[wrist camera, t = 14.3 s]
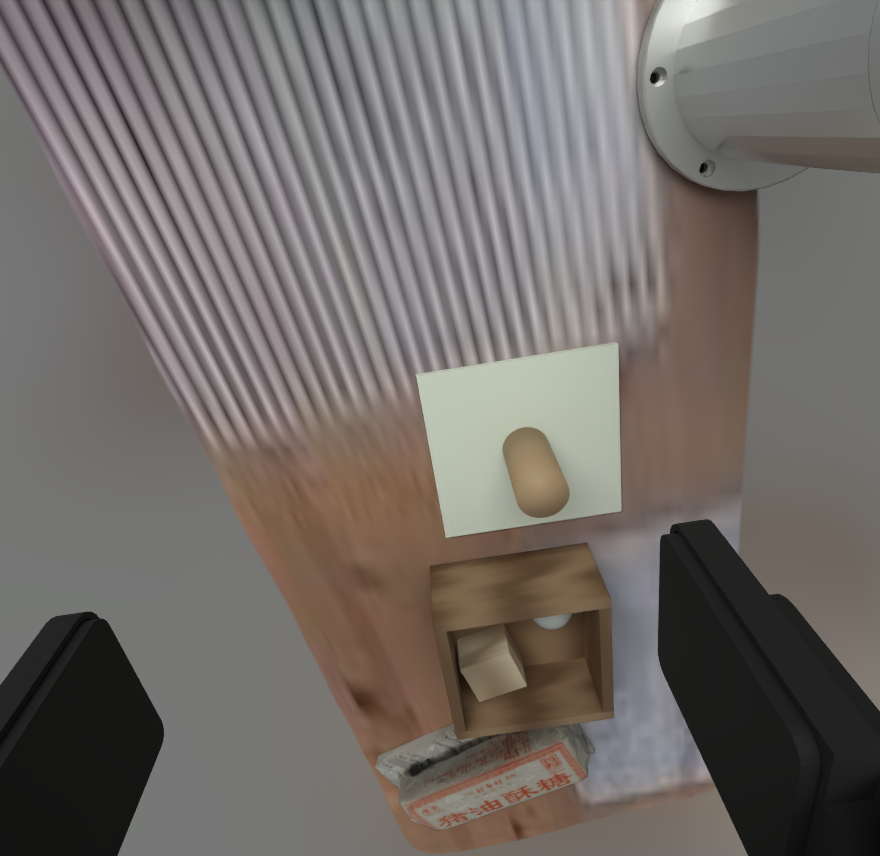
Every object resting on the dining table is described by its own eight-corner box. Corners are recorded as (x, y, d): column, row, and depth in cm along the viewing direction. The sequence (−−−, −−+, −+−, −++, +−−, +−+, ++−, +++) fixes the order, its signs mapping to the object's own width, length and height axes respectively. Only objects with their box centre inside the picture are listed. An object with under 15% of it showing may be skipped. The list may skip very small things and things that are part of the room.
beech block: (503, 622, 47) (509, 652, 44) (520, 655, 49) (527, 686, 46) (457, 639, 48) (459, 669, 45) (475, 671, 49) (479, 702, 47)
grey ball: (565, 572, 45) (576, 602, 42) (567, 604, 47) (578, 635, 44) (523, 579, 45) (531, 609, 42) (527, 610, 47) (535, 641, 44)
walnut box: (586, 542, 45) (610, 598, 40) (592, 655, 50) (613, 718, 45) (430, 566, 45) (432, 624, 40) (452, 675, 51) (457, 740, 45)
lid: (614, 339, 38) (652, 378, 32) (618, 505, 44) (651, 564, 38) (416, 371, 39) (417, 415, 33) (445, 531, 45) (450, 594, 39)
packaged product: (562, 727, 48) (608, 791, 52) (549, 677, 52) (592, 740, 56) (371, 803, 51) (429, 858, 55) (374, 751, 55) (427, 805, 59)
